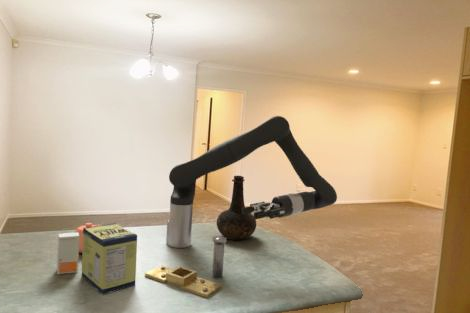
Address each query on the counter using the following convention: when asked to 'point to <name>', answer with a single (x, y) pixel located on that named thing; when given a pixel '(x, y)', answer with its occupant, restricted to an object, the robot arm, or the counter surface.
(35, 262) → the counter surface
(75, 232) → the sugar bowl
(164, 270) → the hinge leaves
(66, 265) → the skincare box
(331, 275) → the counter surface
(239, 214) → the glass bottle
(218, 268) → the hinge pin
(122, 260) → the protein box
